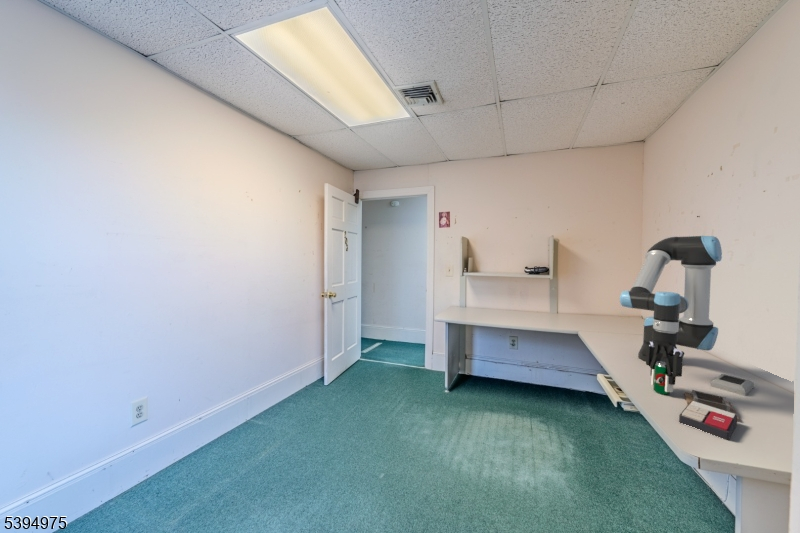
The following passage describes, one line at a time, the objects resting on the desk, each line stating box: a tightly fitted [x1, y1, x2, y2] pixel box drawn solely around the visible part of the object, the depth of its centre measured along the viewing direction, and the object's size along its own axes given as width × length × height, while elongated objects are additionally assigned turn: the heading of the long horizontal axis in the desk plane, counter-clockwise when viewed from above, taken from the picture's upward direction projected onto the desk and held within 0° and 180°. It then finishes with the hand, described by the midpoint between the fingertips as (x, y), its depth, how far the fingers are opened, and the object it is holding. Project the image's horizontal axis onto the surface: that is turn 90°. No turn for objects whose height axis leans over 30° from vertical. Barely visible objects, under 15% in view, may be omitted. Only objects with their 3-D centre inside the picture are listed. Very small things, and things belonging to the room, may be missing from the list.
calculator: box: [678, 401, 738, 441], centre depth 95 cm, size 11×4×15 cm
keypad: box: [710, 373, 755, 397], centre depth 123 cm, size 10×4×15 cm
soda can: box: [652, 361, 671, 396], centre depth 117 cm, size 5×5×12 cm
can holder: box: [684, 389, 740, 423], centre depth 106 cm, size 15×12×3 cm
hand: (661, 388), depth 117 cm, fingers closed on soda can, 5 cm apart
